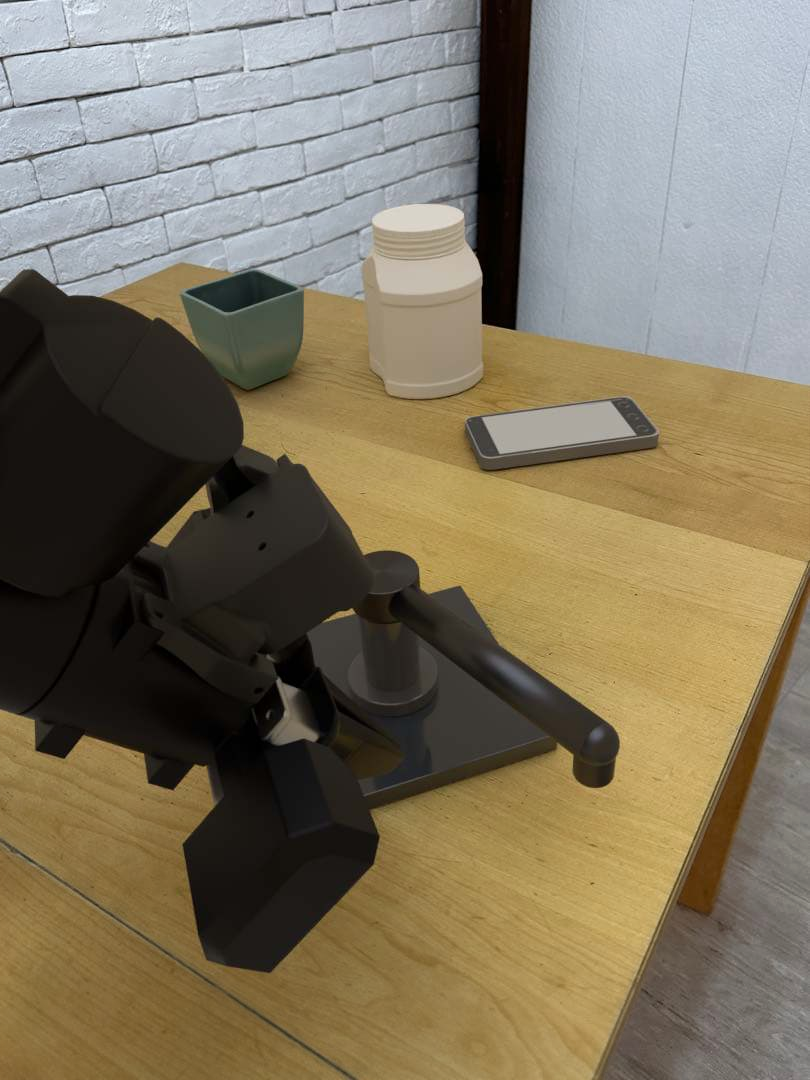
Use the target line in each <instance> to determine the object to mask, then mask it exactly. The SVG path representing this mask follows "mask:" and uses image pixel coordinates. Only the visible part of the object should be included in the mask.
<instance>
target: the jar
mask: <svg viewBox="0 0 810 1080" xmlns="http://www.w3.org/2000/svg"><path fill="white" fill-rule="evenodd" d="M465 225H466V221H465V214H464V212H463V211H462V210H461V209H459V208H457V207H454V206H451V205H446V204H440V203H439V204H438V203H415V204H414V203H413V204H406V205H400V206H399V205H398V206H395V207H394V206H393V207H390V208H387V209H385V210H382V211H380V212H378V213H376V214H375V215H374V216H372V218H371V228H372V229H371V230H372V231H371V233H372V241H373V242H372V248H371V249H370V251H369V252H368V254H367V256H366V257H365V258H364V260H363V262H362V263H361V264H362V265H361V268H360V271H361V279H362V284H363V294H364V295H363V296H364V307H365V316H366V317H365V318H366V326H367V327H366V328H367V329H366V330H367V340H368V341H367V342H368V351H369V354H368V359H369V360H368V361H369V368H370V370H371V371H372V373H374V374H375V375H377V376H378V377H379V378H380V379H381V380H382V381H383V383H384V390H385V392H386V393H387V395H388V396H391V397H395V398H400V399H408V400H431V399H441V398H445V397H451V396H454V395H457V394H460V393H462V392H466V391H467V390H469V389H471V388H473V387H474V386H476V385H477V384H478V383H479V382H480V381H481V380H482V378H483V377H484V362H483V315H482V314H483V312H482V310H483V309H482V307H483V306H482V302H483V301H482V287H483V271H482V269H481V265H480V262H479V259H478V258H477V256H476V254H475V253H474V251H473V250H472V248H471V247H470V245H469V244H468V243H467V240H466V233H465V232H466V227H465Z"/></svg>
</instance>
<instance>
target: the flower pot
mask: <svg viewBox="0 0 810 1080" xmlns="http://www.w3.org/2000/svg"><path fill="white" fill-rule="evenodd" d="M178 293H179V297H180V299H181V302H182V305H183V307H184V308H183V309H184V311H185V314H186V318H187V320H188V323H189V326H190V329H191V332H192V335H193V338H194V339H195V342H196V344H197V346H198V349H199V350H200V351H201V352H202V353H203V354H204V355H205V356H206V357H207V359H208V360H209V361H210V362H211V363H212V364H213V365H214V366H215V368H216V369H217V370H218V372H219V373H220V375H221V376H222V377H223V379H225V380H228V381H229V382H230V383H233V384H235V385H236V386H238V387H239V388H242V389H243V390H246V391H249V390H253V389H255V388H258V387H260V386H262V385H265V384H268V383H270V382H272V381H273V382H274V381H275V380H278V379H280V378H283V377H286V376H288V375H289V373H290V372H291V370H292V368H293V366H294V365H295V363H296V361H297V359H298V357H299V354H300V352H301V348H302V344H303V338H304V327H305V326H304V323H305V322H304V321H305V319H304V318H305V309H304V308H305V288H304V287H302V286H301V285H298V284H296V283H293V282H290V281H289V280H286V279H283V278H281V277H278V276H276V275H274V274H272V273H268V272H267V271H264V270H262V269H258V268H250V269H246V270H244V271H240V272H237V273H234V274H231V275H228V276H225V277H221V278H218V279H216V280H212V281H209V282H206V283H202V284H198V285H195V286H192V287H188V288H185V289H183V290H181V291H179V292H178Z"/></svg>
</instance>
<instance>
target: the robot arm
mask: <svg viewBox="0 0 810 1080" xmlns="http://www.w3.org/2000/svg"><path fill="white" fill-rule="evenodd" d="M244 428H245V427H244V420H243V416H242V413H241V409H240V405H239V404H238V402H237V400H236V398H235V396H234V393H233V392H232V390H231V388H230V385H228V383H227V382H226V379H225V378H224V377H222V376H221V375H220V373H219V372H218V370H217V369H216V368H215V366H214V365H213V364H212V363H211V362H210V361H209V360H208V359H207V357H206V356H205V355H204V354H203V353H202V351H201V350H200V348H199V347H197V346H196V345H195V343H193V342H192V341H191V340H190V339H188V337H187V336H185V335H184V334H183V333H182V332H181V331H180V330H178V328H177V329H176V328H175V327H174V325H172V324H170V323H169V322H168V321H166V320H165V319H163V318H161V317H154V318H153V319H151V318H150V317H148V316H146V315H145V314H143V313H142V312H139V311H137V310H136V309H133V308H132V307H129V306H127V305H125V304H122V303H119V302H118V301H116V300H112V299H108V298H104V297H100V296H95V295H85V294H84V295H83V294H73V295H68V294H67V293H66V292H65V291H63V290H62V289H61V288H59V287H58V286H56V284H54V283H53V282H52V281H50V280H49V279H47V277H45V276H44V275H43V274H41V273H40V272H39V271H37V270H36V269H32V268H29V269H25V268H24V269H22V270H21V271H20V272H19V273H18V274H17V275H16V276H14V278H13V279H12V280H11V281H10V282H8V283H7V284H6V285H5V286H4V287H3V288H2V289H1V290H0V711H3V712H6V713H10V714H13V715H17V716H20V717H24V718H26V719H30V720H34V751H35V752H38V753H41V754H45V755H48V756H51V757H56V758H59V759H63V760H65V759H66V758H67V757H68V756H69V754H70V753H71V752H72V751H73V749H74V748H75V747H76V745H78V743H79V742H80V740H81V739H82V738H83V737H84V736H85V737H88V738H91V739H94V740H98V741H100V742H104V743H107V744H111V745H113V746H117V747H120V748H122V749H127V750H130V751H133V752H137V753H139V754H142V755H143V758H144V766H145V772H146V778H147V784H149V785H152V786H156V787H159V788H163V789H165V790H170V791H174V790H175V789H176V788H177V787H178V786H179V784H180V783H181V782H182V781H183V780H184V778H185V777H186V776H187V775H188V773H189V772H190V771H191V770H192V769H193V768H194V767H195V765H196V766H199V767H202V768H203V767H206V771H207V772H206V773H207V777H208V781H209V786H210V790H211V794H212V799H213V803H214V806H213V807H212V809H211V810H210V811H209V812H208V813H207V814H206V816H205V817H204V818H203V819H202V820H201V822H200V823H199V824H198V825H197V826H196V827H195V828H194V830H193V831H192V832H191V833H190V834H189V836H188V837H186V839H185V840H184V841H183V843H181V846H182V851H183V857H184V863H185V869H186V874H187V879H188V885H189V892H190V896H191V902H192V903H191V904H192V908H193V909H192V910H193V915H194V919H195V925H196V932H197V936H198V939H199V940H198V941H199V943H200V946H201V948H202V952H203V954H204V958H205V960H206V961H207V962H212V963H214V964H218V965H221V966H225V967H228V968H234V969H240V970H247V971H253V972H260V973H265V974H271V973H272V972H273V971H274V970H275V969H276V968H277V967H278V966H279V965H280V964H281V963H282V962H283V961H284V960H285V959H286V957H288V955H290V953H291V952H293V950H294V949H295V948H296V947H297V946H298V945H299V944H300V943H301V941H303V940H304V938H305V937H306V936H307V935H308V934H309V933H310V932H311V931H312V930H313V929H314V928H315V927H316V926H317V925H318V924H319V923H320V922H321V920H323V918H325V916H326V915H327V914H328V913H329V912H330V911H331V910H332V909H333V908H334V907H335V906H336V905H337V904H338V903H339V902H340V900H342V899H343V898H344V897H345V896H346V894H347V893H348V892H349V891H350V890H351V889H352V888H353V887H354V886H355V885H356V884H357V883H358V882H359V881H360V880H361V879H362V877H364V875H366V873H368V871H369V870H370V869H371V868H372V867H373V866H374V865H375V860H376V857H377V856H376V855H377V851H378V847H379V842H380V834H379V831H378V827H377V826H376V823H375V821H374V817H373V815H372V813H371V809H369V808H368V805H367V802H366V800H365V797H364V795H363V792H362V790H361V787H360V784H359V782H358V780H361V779H365V778H369V777H373V776H377V775H382V774H386V773H389V772H391V771H392V770H393V769H394V768H395V767H396V766H397V765H398V764H399V763H400V762H401V761H402V760H403V758H404V753H403V751H402V749H401V746H400V744H399V742H398V741H397V740H396V739H395V738H394V737H393V736H392V735H391V734H389V733H388V732H387V731H386V730H385V729H384V728H383V727H382V726H380V725H379V724H378V723H377V722H376V721H375V720H374V719H373V718H372V717H370V716H369V715H368V714H367V713H366V712H365V711H364V710H363V709H361V708H360V707H359V706H358V705H357V704H356V703H355V702H354V701H352V700H351V699H350V698H349V697H348V696H347V695H345V693H344V692H342V691H341V690H340V689H339V688H338V687H337V686H336V685H335V684H334V683H333V682H332V681H330V680H329V679H328V678H327V677H326V676H325V675H324V674H323V672H322V670H321V668H320V667H319V666H318V667H316V666H315V663H314V657H313V651H312V646H311V642H310V640H309V637H308V635H307V632H309V631H310V630H312V629H313V628H315V627H316V626H318V625H319V624H321V623H323V622H326V621H328V620H329V619H330V618H332V617H333V616H334V615H336V614H337V613H340V612H348V611H350V610H351V609H352V608H353V607H354V606H356V605H357V604H359V603H360V602H361V601H362V600H363V599H364V598H365V597H366V596H367V595H368V593H369V592H370V591H371V589H372V586H373V584H374V573H373V570H372V568H371V566H370V564H369V563H368V561H367V560H366V558H365V557H364V555H365V554H364V552H363V551H362V549H361V547H360V545H359V543H358V542H357V540H356V538H355V536H354V534H353V531H352V529H351V528H350V527H351V526H349V525H348V523H347V521H346V520H345V519H344V518H343V517H342V515H341V514H340V512H339V511H338V509H336V507H335V506H334V504H333V503H332V502H331V500H330V499H329V498H328V497H327V496H326V494H325V493H324V491H323V490H322V489H321V487H320V486H319V484H318V483H317V482H316V481H315V479H314V478H313V476H311V473H310V471H309V469H308V468H307V467H306V465H304V464H302V463H294V462H292V460H291V459H290V458H289V457H288V456H287V454H286V453H284V454H282V455H281V456H280V457H278V458H276V460H275V459H274V457H271V456H270V455H267V454H265V453H263V452H261V451H258V450H255V449H253V448H252V447H249V446H246V445H244V444H243V443H244V438H245V432H244V430H245V429H244ZM204 486H205V490H206V497H207V500H208V503H209V507H207V508H203V509H198V510H194V511H193V512H192V513H191V515H190V516H189V517H188V519H187V520H186V521H185V522H184V524H183V525H182V526H181V527H180V529H178V531H177V533H176V534H174V537H173V538H172V539H171V541H169V543H168V544H167V546H164V545H160V544H158V543H156V542H153V541H151V540H153V538H154V537H155V536H156V535H157V534H158V533H159V532H160V531H161V530H162V529H163V528H164V527H165V526H166V525H167V524H168V523H169V522H170V521H171V520H172V519H174V517H175V516H176V515H177V514H178V513H179V511H181V510H182V509H183V508H184V506H186V504H188V503H189V501H190V500H192V498H193V497H194V496H196V494H197V493H198V492H199V491H200V490H201V489H202V488H203V487H204Z"/></svg>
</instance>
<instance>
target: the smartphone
mask: <svg viewBox="0 0 810 1080" xmlns="http://www.w3.org/2000/svg"><path fill="white" fill-rule="evenodd" d="M464 433H465V435H466V438H467V440H468V443H469V445H470V446H471V449H472V451H473V454H474V456H475V458H476V460H477V462H478V464H479V466H480V468H482V469H484V470H488V471H495V470H500V469H509V468H516V467H523V466H530V465H537V464H545V463H551V462H557V461H558V462H559V461H565V460H573V459H581V458H589V457H594V456H601V455H610V454H616V453H623V452H630V451H636V450H637V451H639V450H643V449H651V448H655V447H657V445H658V443H659V435H660V430H659V429H658V427H657V426H656V425H655V424H654V423H653V422H652V420H651V419H650V418H649V416H647V414H646V413H645V412H644V411H643V409H642V408H641V407H640V406H639V405H638V403H637V402H636V401H635V399H634V398H632V397H630V396H625V395H622V396H613V397H606V398H598V399H597V398H596V399H591V400H584V401H575V402H568V403H562V404H561V403H560V404H553V405H545V406H539V407H538V406H537V407H530V408H523V409H515V410H507V411H501V412H500V411H499V412H493V413H486V414H478V415H471V416H468V417H466V418H465V419H464Z"/></svg>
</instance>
